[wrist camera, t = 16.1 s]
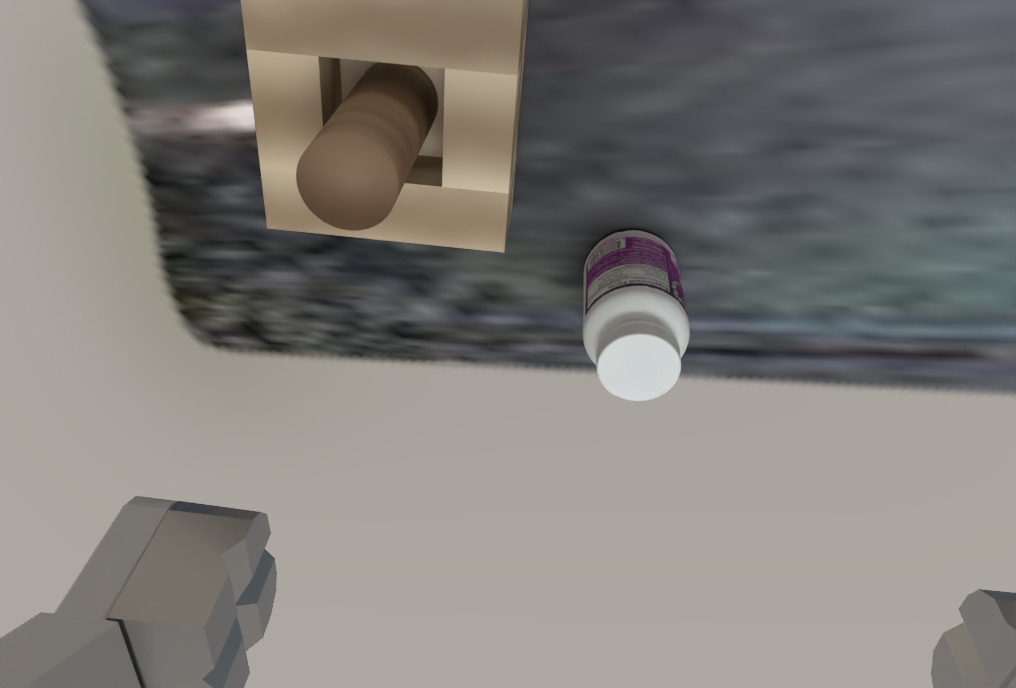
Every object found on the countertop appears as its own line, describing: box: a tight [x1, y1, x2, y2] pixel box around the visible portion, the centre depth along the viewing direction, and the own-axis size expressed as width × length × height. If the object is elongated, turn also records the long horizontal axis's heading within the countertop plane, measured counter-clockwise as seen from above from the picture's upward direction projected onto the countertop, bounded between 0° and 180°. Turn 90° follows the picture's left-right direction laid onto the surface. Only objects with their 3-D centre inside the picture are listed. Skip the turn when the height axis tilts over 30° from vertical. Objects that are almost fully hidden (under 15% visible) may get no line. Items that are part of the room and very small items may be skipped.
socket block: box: [241, 0, 529, 252], centre depth 39 cm, size 12×12×5 cm
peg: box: [296, 62, 438, 231], centre depth 36 cm, size 4×4×10 cm
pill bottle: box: [583, 230, 690, 401], centre depth 42 cm, size 5×5×10 cm
